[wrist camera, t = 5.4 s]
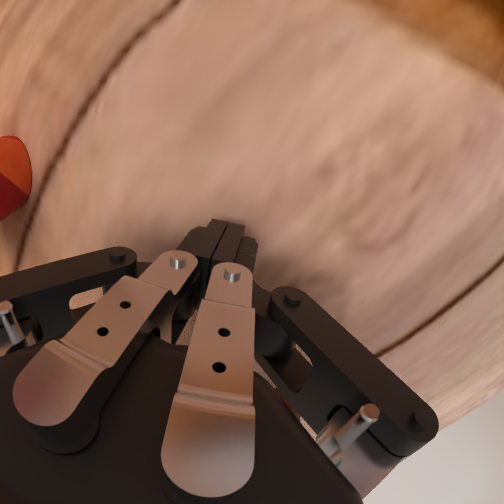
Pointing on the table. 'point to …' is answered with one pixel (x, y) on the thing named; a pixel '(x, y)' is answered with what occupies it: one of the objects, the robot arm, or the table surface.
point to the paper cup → (13, 175)
